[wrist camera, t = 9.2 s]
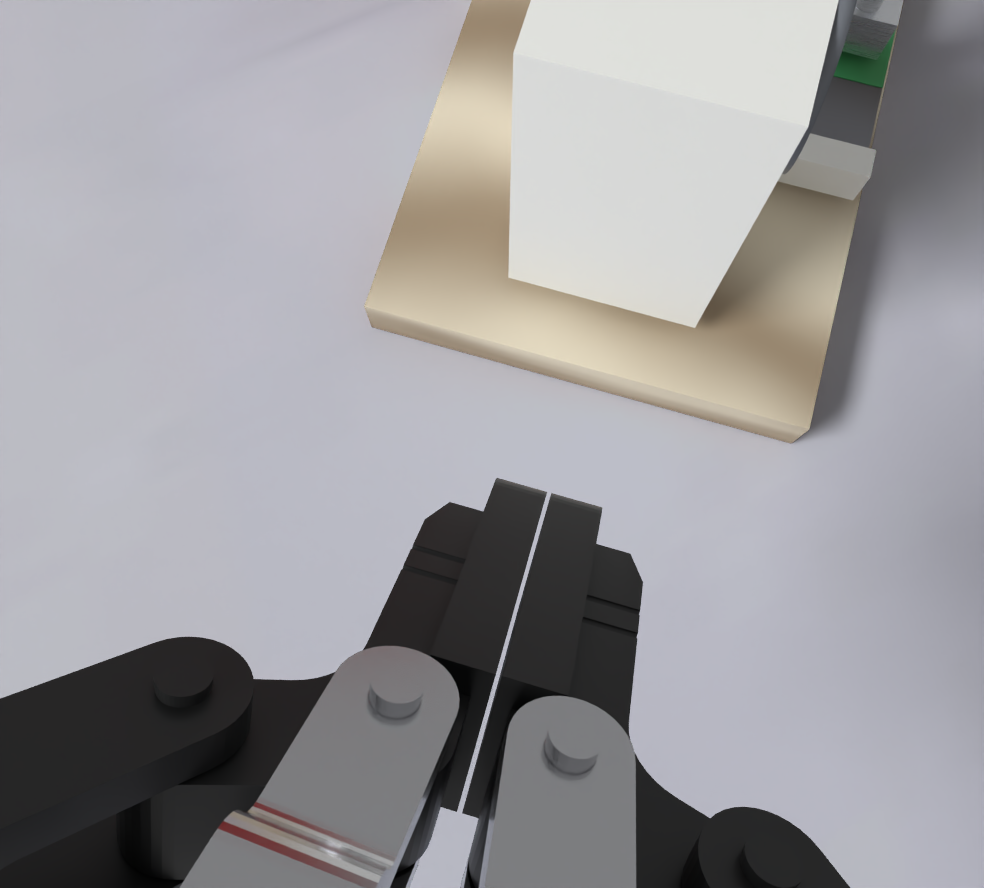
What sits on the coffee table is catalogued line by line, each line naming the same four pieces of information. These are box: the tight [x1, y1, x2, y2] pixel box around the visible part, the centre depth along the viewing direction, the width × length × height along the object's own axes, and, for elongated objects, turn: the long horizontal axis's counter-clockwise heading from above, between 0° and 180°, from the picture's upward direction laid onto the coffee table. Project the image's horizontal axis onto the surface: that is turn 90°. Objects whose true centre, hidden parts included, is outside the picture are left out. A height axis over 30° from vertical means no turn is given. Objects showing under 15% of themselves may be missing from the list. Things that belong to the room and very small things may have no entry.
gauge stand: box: [364, 0, 904, 443], centre depth 27 cm, size 17×12×2 cm
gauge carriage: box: [508, 0, 876, 328], centre depth 20 cm, size 8×8×9 cm
